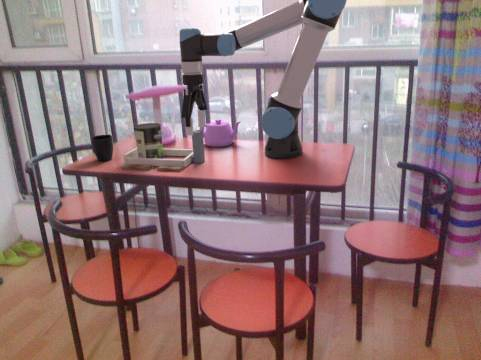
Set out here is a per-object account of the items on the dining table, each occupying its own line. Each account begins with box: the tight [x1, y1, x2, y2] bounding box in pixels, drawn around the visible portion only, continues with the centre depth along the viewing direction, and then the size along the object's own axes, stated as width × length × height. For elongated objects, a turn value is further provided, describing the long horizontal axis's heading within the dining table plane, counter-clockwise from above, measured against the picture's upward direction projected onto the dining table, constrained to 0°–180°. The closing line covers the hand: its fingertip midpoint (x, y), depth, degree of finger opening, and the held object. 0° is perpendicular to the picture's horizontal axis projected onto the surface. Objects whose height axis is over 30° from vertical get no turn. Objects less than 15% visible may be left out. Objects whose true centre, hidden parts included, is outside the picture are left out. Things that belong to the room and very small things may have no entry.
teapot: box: [199, 118, 241, 148], centre depth 186 cm, size 13×20×11 cm
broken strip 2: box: [157, 165, 185, 172], centre depth 156 cm, size 9×3×1 cm, turn 75°
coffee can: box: [133, 122, 165, 159], centre depth 166 cm, size 10×10×14 cm
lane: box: [123, 129, 206, 168], centre depth 165 cm, size 30×15×12 cm, turn 75°
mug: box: [90, 134, 114, 163], centre depth 172 cm, size 8×12×10 cm
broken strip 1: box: [122, 164, 154, 171], centre depth 159 cm, size 11×3×1 cm, turn 75°
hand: (196, 131), depth 159 cm, fingers open, 13 cm apart
